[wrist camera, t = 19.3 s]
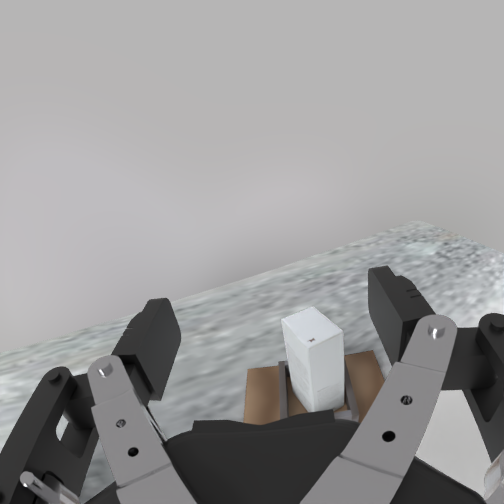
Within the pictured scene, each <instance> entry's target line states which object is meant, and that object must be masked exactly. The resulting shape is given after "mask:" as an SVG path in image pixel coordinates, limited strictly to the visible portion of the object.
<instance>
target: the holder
mask: <svg viewBox="0 0 504 504" xmlns="http://www.w3.org/2000/svg"><path fill="white" fill-rule="evenodd" d="M384 382H385V381H384V379H383V376H382V373H381V370H380V368H379V365H378V362H377V360H376V357H375V355H374V352H373V350H371V351H366V352H361V353H356V354H350V355H345V356H344V406H343V407H341V408H339V409H337V410H335V411H333V412H334V417H335V418H336V419H346V420H352V421H356V422H359V423H362V421H363V419H364V418H365V416H366V414H367V413H368V411H369V409H370V407H371V406H372V404H373V402H374V400H375V399H376V397H377V395H378V393H379V391H380V390H381V388H382V386H383V384H384ZM302 413H309V412H308V411H307V410H306V409H305V407H304V406H303V405H302V403H301V402H300V401H299V399H298V398H297V397H296V395H295V394H294V393H293V390H292V383H291V377H290V371H289V365H288V361H280V362H279V366H272V367H263V368H254V369H248V373H247V385H246V398H245V410H244V422H243V423H249V424H256V425H263V424H267V423H271V422H274V421H277V420H281V419H284V418H287V417H290V416H293V415H296V414H302Z"/></svg>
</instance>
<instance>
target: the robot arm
mask: <svg viewBox="0 0 504 504" xmlns="http://www.w3.org/2000/svg"><path fill="white" fill-rule="evenodd" d="M368 307H369V313H370V317H371V319H372V321H373V324H374V326H375V328H376V330H377V333H378V335H379V337H380V339H381V342H382V344H383V346H384V349H385V351H386V353H387V356H388V358H389V360H390V363H391V365H392V369H391V371H390V373H389V375H388V376H387V378H386V380H385V382H384V384H383V386H382V388H381V390H380V391H379V393H378V395H377V397H376V399H375V400H374V402H373V404H372V406H371V407H370V409H369V411H368V413H367V414H366V416H365V418H364V419H363V421H362V423H359V422H356V421H352V420H346V419H336V418H335V417H334V412H333V409H329V410H323V411H316V412H309V413H302V414H296V415H293V416H290V417H287V418H284V419H281V420H277V421H274V422H271V423H267V424H263V425H256V424H249V423H242V422H236V421H230V420H200V421H194V423H193V428H192V430H191V431H187V432H184V433H181V434H179V435H176V436H174V437H172V438H170V439H168V440H167V438H166V437H165V435H164V433H163V432H162V430H161V428H160V426H159V425H158V423H157V421H156V419H155V417H154V416H153V414H152V412H151V410H150V409H149V407H148V403H149V400H159V401H161V399H162V396H163V393H164V390H165V387H166V384H167V381H168V378H169V375H170V372H171V369H172V366H173V363H174V360H175V357H176V354H177V351H178V348H179V346H180V342H181V332H180V328H179V325H178V322H177V320H176V317H175V314H174V312H173V309H172V306H171V303H170V301H169V300H168V299H167V298H160V299H151V300H149V301H148V302H147V304H146V306H145V307H144V309H143V311H142V312H139V313H138V314H137V315H136V316H135V317H134V318H133V319H132V320H131V321H130V323H129V324H128V326H127V329H125V331H124V333H123V336H121V338H120V340H119V341H118V343H117V345H116V347H115V348H114V350H113V352H112V354H111V355H108V356H104V357H101V358H99V359H97V360H96V361H95V362H93V363H92V364H91V366H90V367H89V369H88V372H87V373H86V374H81V375H77V376H73V375H72V374H71V372H70V371H69V369H68V368H66V367H56V368H54V369H52V370H50V371H49V372H47V373H46V374H45V375H44V377H43V378H42V380H41V381H40V383H39V385H38V386H37V388H36V390H35V391H34V393H33V395H32V396H31V398H30V400H29V401H28V403H27V405H26V407H25V408H24V410H23V412H22V414H21V415H20V417H19V419H18V421H17V423H16V424H15V426H14V428H13V430H12V432H11V434H10V436H9V438H8V439H7V441H6V443H5V445H4V447H3V449H2V451H1V453H0V504H80V501H79V496H80V492H81V489H82V486H83V483H84V480H85V477H86V474H87V471H88V468H89V465H90V462H91V459H92V456H93V453H94V450H95V447H96V444H97V441H98V439H99V437H100V440H101V443H102V446H103V449H104V452H105V454H106V457H107V460H108V463H109V465H110V468H111V471H112V473H113V476H114V478H115V482H113V483H112V484H111V485H109V486H108V487H107V488H105V489H104V490H103V491H101V492H100V493H98V494H97V495H96V496H94V497H93V498H92V499H90V500H89V501H87V502H86V503H85V504H504V315H502V314H498V313H490V314H487V315H485V316H483V317H482V318H481V319H480V321H479V325H478V327H475V328H457V326H456V324H455V322H454V321H453V320H451V319H450V318H448V317H446V316H443V315H436V314H435V312H434V311H433V309H432V308H431V307H430V305H429V304H428V303H427V301H426V300H425V299H424V297H423V296H421V293H420V292H419V291H418V290H417V288H416V287H415V285H414V284H413V283H412V281H410V280H409V279H407V278H405V277H403V276H395V275H394V273H393V272H392V271H391V269H390V268H389V267H388V266H382V267H376V268H370V269H369V271H368ZM440 390H462V391H463V393H464V395H465V397H466V400H467V402H468V404H469V406H470V409H471V411H472V413H473V416H474V418H475V421H476V423H477V425H478V428H479V430H480V433H481V436H482V438H483V441H484V443H485V446H486V449H487V451H488V454H489V457H490V460H491V463H492V464H491V465H490V467H489V468H488V470H487V472H486V474H485V480H484V483H485V495H484V498H482V497H481V496H480V495H479V494H478V493H477V492H475V491H473V490H472V489H470V488H468V487H466V486H464V485H463V484H461V483H459V482H457V481H456V480H454V479H452V478H450V477H449V476H447V475H445V474H444V473H442V472H440V471H439V470H437V469H435V468H434V467H432V466H430V465H429V464H427V463H425V462H424V461H422V460H421V459H419V458H417V457H416V456H415V454H416V451H417V449H418V447H419V445H420V442H421V440H422V438H423V435H424V433H425V431H426V428H427V426H428V423H429V421H430V418H431V415H432V413H433V410H434V407H435V405H436V402H437V399H438V396H439V393H440ZM62 414H63V416H64V417H65V418H66V419H67V421H68V425H67V427H66V429H65V431H64V434H63V436H62V438H61V441H59V439H58V438H57V435H56V427H57V425H58V423H59V420H60V418H61V416H62Z"/></svg>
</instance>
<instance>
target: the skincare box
mask: <svg viewBox="0 0 504 504" xmlns="http://www.w3.org/2000/svg"><path fill="white" fill-rule="evenodd" d="M281 322H282V328H283V335H284V341H285V347H286V353H287V359H288V365H289V371H290V377H291V383H292V390H293V393H294V394H295V395H296V397H297V398H298V399H299V401H300V402H301V403H302V405H303V406H304V407H305V409H306V410H307V411H308V412H316V411H323V410H329V409H333V411H335V410H337V409H339V408H341V407H343V406H344V332H343V330H342V329H341V328H339V327H338V326H337V325H336V324H334V323H333V322H332V321H331V320H330V319H328V318H327V317H326V316H325V315H323V314H322V313H321V312H320V311H318V310H317V309H316V308H315V307H314V306H311V307H309V308H307V309H304V310H302V311H300V312H297V313H295V314H292V315H290V316H287V317H285V318H282V319H281Z"/></svg>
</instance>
